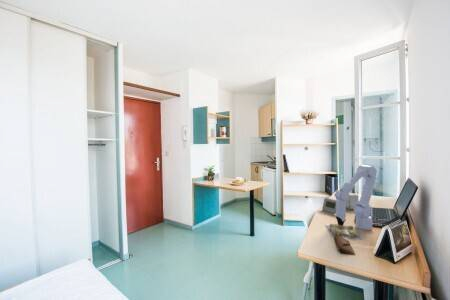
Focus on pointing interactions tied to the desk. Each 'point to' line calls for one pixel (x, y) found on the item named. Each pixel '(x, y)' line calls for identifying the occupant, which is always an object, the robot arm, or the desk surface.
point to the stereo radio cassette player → (351, 200)
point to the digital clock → (329, 205)
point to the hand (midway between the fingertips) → (340, 227)
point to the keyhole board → (344, 236)
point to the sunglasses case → (343, 245)
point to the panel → (342, 229)
